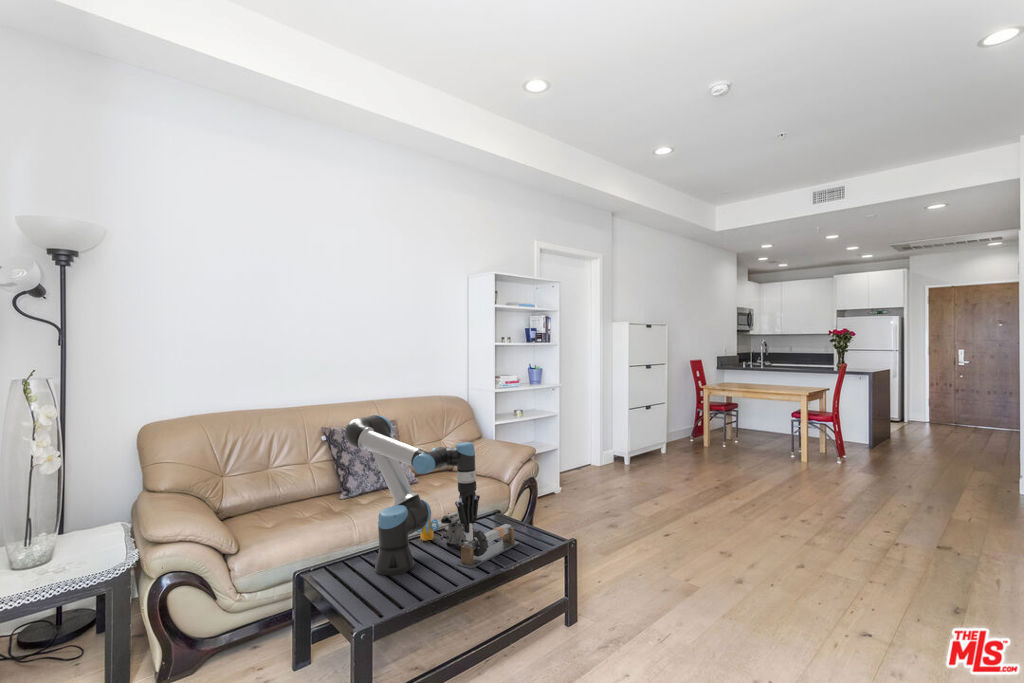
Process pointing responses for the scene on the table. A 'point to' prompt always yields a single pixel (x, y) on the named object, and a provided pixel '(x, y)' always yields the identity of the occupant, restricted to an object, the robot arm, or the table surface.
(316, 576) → the table surface
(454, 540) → the figurine
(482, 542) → the dark gear wheel
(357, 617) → the table surface
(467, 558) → the grey rail stand
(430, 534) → the yellow blue looped tower
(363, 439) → the robot arm
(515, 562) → the table surface
